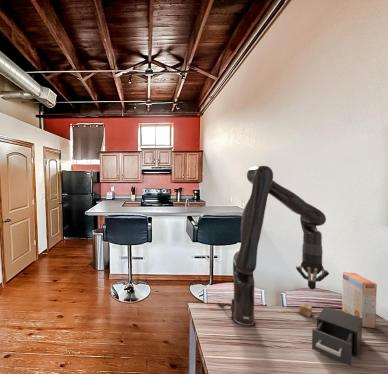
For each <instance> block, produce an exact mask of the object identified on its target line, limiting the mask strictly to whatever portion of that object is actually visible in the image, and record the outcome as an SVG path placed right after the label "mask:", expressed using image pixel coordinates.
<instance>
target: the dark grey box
mask: <svg viewBox="0 0 388 374" xmlns="http://www.w3.org/2000/svg"><path fill="white" fill-rule="evenodd" d="M321 321H322V322H325V323H328V324H331V325H333V326H336V327H339V328H342V329H344V330H347V331H350V332H353V333H354V348H353V351H352V354H351V356H354V357H358V355H359V351H360V348H361V344H362V342H363V327H362V318H360V317H357V316H354V315H351V314H348V313H345V312H342V310H338V309H335V308H333V307H330V306H326V305H325V306H324V307H323V308H322V309H321V311H320V313H318V316H317V317H316V327H317V326H318V325H319V323H320V322H321Z"/></svg>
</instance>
